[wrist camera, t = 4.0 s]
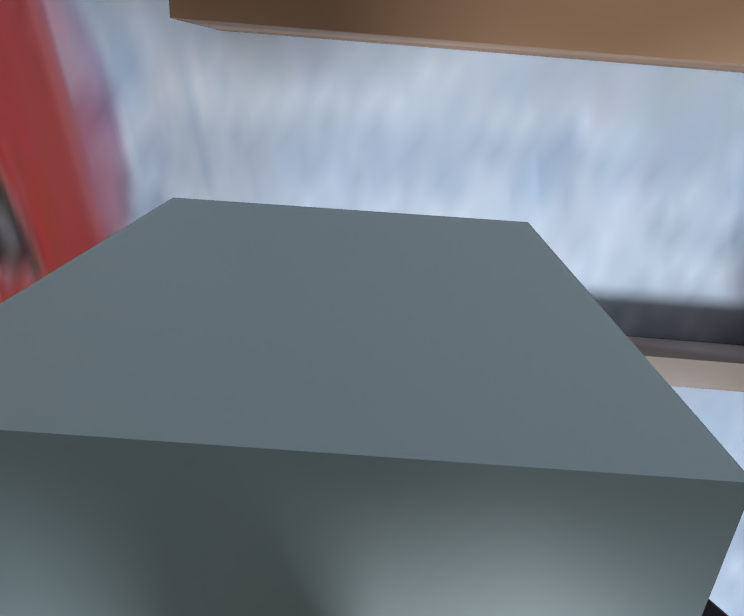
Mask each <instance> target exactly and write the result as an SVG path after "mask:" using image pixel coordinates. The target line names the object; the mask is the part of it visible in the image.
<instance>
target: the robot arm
mask: <svg viewBox="0 0 744 616" xmlns="http://www.w3.org/2000/svg"><path fill="white" fill-rule="evenodd" d="M702 616H728V615H727V614H726V613H725V612H723V611H722V610H721V609H720V608H719V607H718V606H716V605H715V604H714V603H713V602H712V601H711V600H710V599H708V601H707V604H706V606H705V609H704V611H703V614H702Z"/></svg>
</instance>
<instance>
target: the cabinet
mask: <svg viewBox="0 0 744 616" xmlns="http://www.w3.org/2000/svg"><path fill="white" fill-rule="evenodd" d="M743 511H744V470H743V469H742V468H741V467H740V466H739V465H738V463H737V462H736V461H735V460H734V459H733V458H732V456H731V455H730V454H729V453H728V452H727V451H726V450H725V448H724V447H723V446H722V445H721V444H720V443H719V441H718V440H717V439H716V438H715V437H714V436H713V435H712V433H711V432H710V431H709V430H708V429H707V428H706V427H705V425H704V424H703V423H702V422H701V421H700V420H699V418H698V417H697V416H696V415H695V414H694V413H693V412H692V410H691V409H690V408H689V407H688V406H687V405H686V404H685V402H684V401H683V400H682V399H681V398H680V397H679V395H678V394H677V393H676V392H675V391H674V390H673V389H672V387H671V386H670V385H669V384H668V383H667V382H666V381H665V379H664V378H663V377H662V376H661V375H660V374H659V372H658V371H657V370H656V369H655V368H654V367H653V366H652V364H651V363H650V362H649V361H648V360H647V359H646V358H645V356H644V355H643V354H642V353H641V352H640V351H639V349H638V348H637V347H636V346H635V345H634V344H633V343H632V341H631V340H630V339H629V338H628V337H627V336H626V335H625V333H624V332H623V331H622V330H621V329H620V328H619V326H618V325H617V324H616V323H615V322H614V321H613V320H612V318H611V317H610V316H609V315H608V314H607V313H606V312H605V310H604V309H603V308H602V307H601V306H600V305H599V303H598V302H597V301H596V300H595V299H594V298H593V297H592V295H591V294H590V293H589V292H588V291H587V290H586V289H585V287H584V286H583V285H582V284H581V283H580V282H579V280H578V279H577V278H576V277H575V276H574V275H573V274H572V272H571V271H570V270H569V269H568V268H567V267H566V266H565V264H564V263H563V262H562V261H561V260H560V259H559V257H558V256H557V255H556V254H555V253H554V252H553V251H552V249H551V248H550V247H549V246H548V245H547V244H546V242H545V241H544V240H543V239H542V238H541V237H540V236H539V234H538V233H537V232H536V231H535V230H534V229H533V228H532V226H531V225H530V224H529V223H528V222H516V221H502V220H488V219H473V218H459V217H444V216H430V215H416V214H401V213H387V212H372V211H358V210H343V209H329V208H315V207H300V206H286V205H271V204H257V203H243V202H228V201H214V200H199V199H185V198H172V199H170V200H169V201H167V202H165V203H164V204H162V205H160V206H159V207H157V208H156V209H154V210H152V211H151V212H149V213H147V214H146V215H144V216H143V217H141V218H139V219H138V220H136V221H134V222H133V223H131V224H129V225H128V226H126V227H125V228H123V229H121V230H120V231H118V232H116V233H115V234H113V235H112V236H110V237H108V238H107V239H105V240H103V241H102V242H100V243H99V244H97V245H95V246H94V247H92V248H90V249H89V250H87V251H85V252H84V253H82V254H81V255H79V256H77V257H76V258H74V259H72V260H71V261H69V262H68V263H66V264H64V265H63V266H61V267H59V268H58V269H56V270H54V271H53V272H51V273H50V274H48V275H46V276H45V277H43V278H41V279H40V280H38V281H37V282H35V283H33V284H32V285H30V286H28V287H27V288H25V289H23V290H22V291H20V292H19V293H17V294H15V295H14V296H12V297H10V298H9V299H7V300H6V301H4V302H2V303H1V304H0V616H702V614H703V611H704V609H705V606H706V604H707V601H708V599H709V596H710V594H711V591H712V589H713V586H714V584H715V581H716V579H717V576H718V574H719V571H720V569H721V566H722V564H723V561H724V558H725V556H726V553H727V551H728V548H729V546H730V543H731V541H732V538H733V536H734V533H735V531H736V528H737V526H738V523H739V521H740V518H741V516H742V513H743Z"/></svg>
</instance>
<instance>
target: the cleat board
mask: <svg viewBox="0 0 744 616" xmlns="http://www.w3.org/2000/svg"><path fill="white" fill-rule="evenodd" d="M169 6H170V18H173V19H177V20H181V21H185V22H189V23H193V24H197V25H201V26H205V27H209V28H213V29H216V30H224V31H236V32H248V33H261V34H273V35H285V36H298V37H310V38H322V39H335V40H347V41H359V42H372V43H384V44H396V45H409V46H421V47H433V48H446V49H458V50H470V51H483V52H495V53H507V54H520V55H532V56H544V57H557V58H569V59H582V60H594V61H606V62H619V63H631V64H643V65H656V66H668V67H680V68H693V69H705V70H717V71H730V72H742V73H744V0H169ZM627 337H628V338H629V339H630V340H631V341H632V343H633V344H634V345H635V346H636V347H637V348H638V349H639V351H640V352H641V353H642V354H643V355H644V356H645V358H646V359H647V360H648V361H649V362H650V363H651V364H652V366H653V367H654V368H655V369H656V370H657V371H658V372H659V374H660V375H661V376H662V377H663V378H664V379H665V381H666V382H667V383H668V384H669V385H670V386H676V387H689V388H701V389H714V390H727V391H739V392H744V346H743V345H731V344H718V343H706V342H693V341H681V340H668V339H656V338H643V337H631V336H627Z"/></svg>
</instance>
